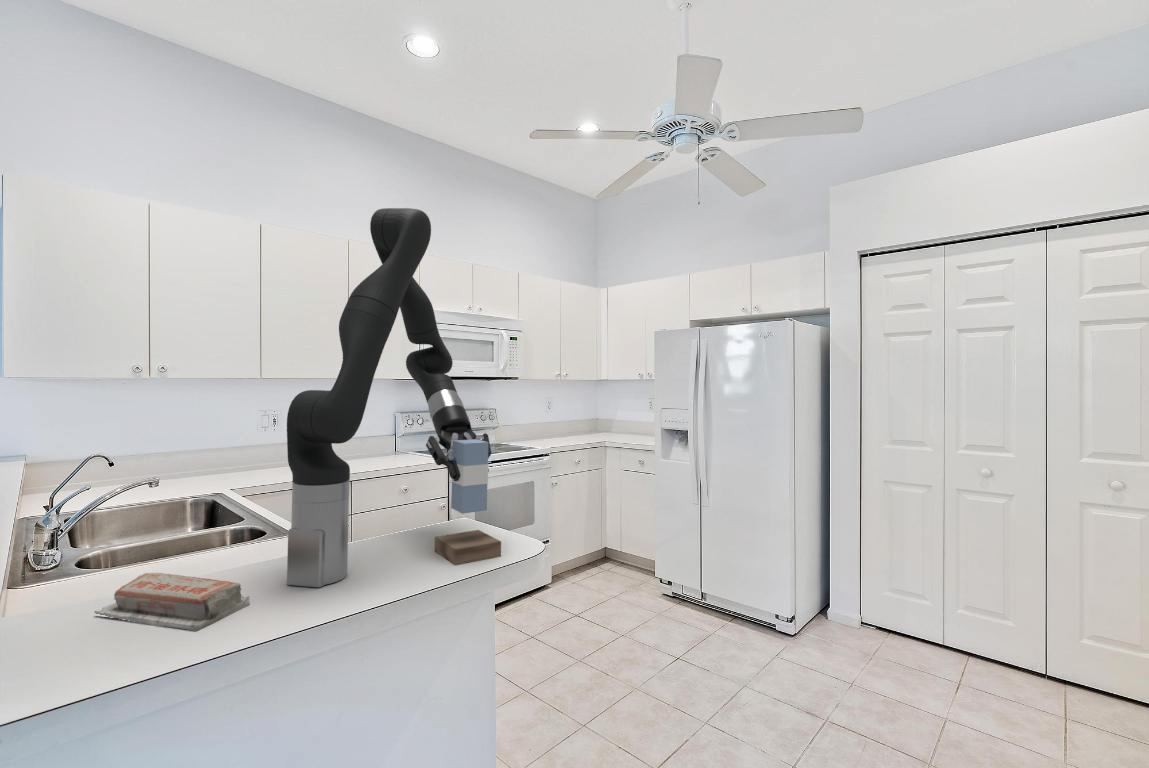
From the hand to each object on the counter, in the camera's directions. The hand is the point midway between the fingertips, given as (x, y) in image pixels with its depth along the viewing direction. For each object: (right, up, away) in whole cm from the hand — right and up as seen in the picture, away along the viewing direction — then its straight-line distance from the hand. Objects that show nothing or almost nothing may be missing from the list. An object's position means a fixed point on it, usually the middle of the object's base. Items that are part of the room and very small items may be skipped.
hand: (471, 477), depth 111 cm
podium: (-1, -16, +1) cm, 16 cm away
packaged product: (-39, -16, -29) cm, 51 cm away
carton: (-1, -7, +1) cm, 7 cm away
